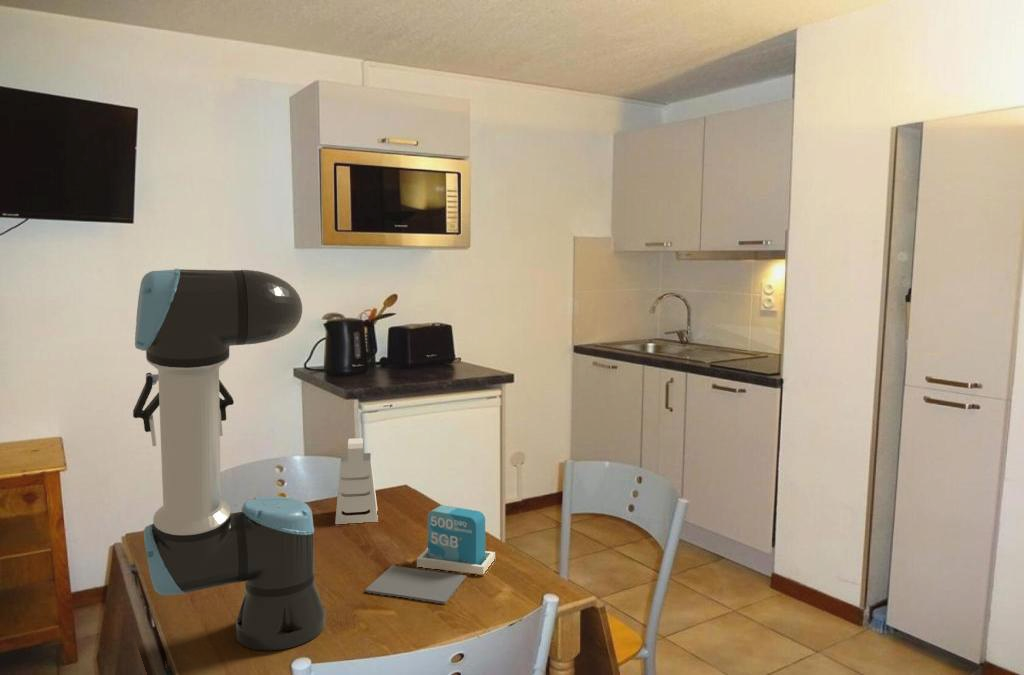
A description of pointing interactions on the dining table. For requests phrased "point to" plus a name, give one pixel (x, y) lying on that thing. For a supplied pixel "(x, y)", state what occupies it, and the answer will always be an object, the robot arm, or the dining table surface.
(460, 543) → the blue rounded block
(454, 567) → the cradle
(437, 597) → the mat
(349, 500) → the grater
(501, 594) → the dining table surface
